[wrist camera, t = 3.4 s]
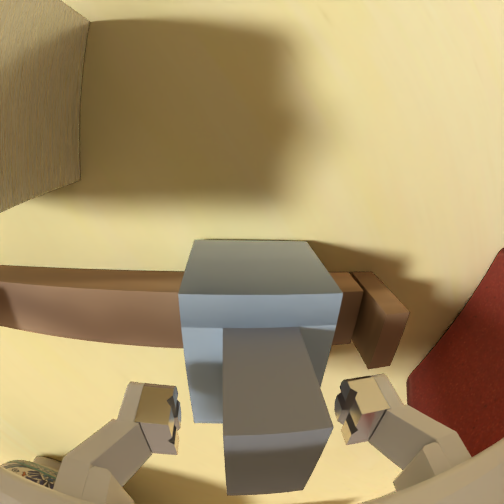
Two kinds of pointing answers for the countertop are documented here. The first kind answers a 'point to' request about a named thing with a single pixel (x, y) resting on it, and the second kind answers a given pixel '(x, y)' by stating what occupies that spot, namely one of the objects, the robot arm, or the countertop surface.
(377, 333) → the rail
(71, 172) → the grey cube with hole
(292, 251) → the carriage
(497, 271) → the plant pot
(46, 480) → the bowl
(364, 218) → the countertop surface
